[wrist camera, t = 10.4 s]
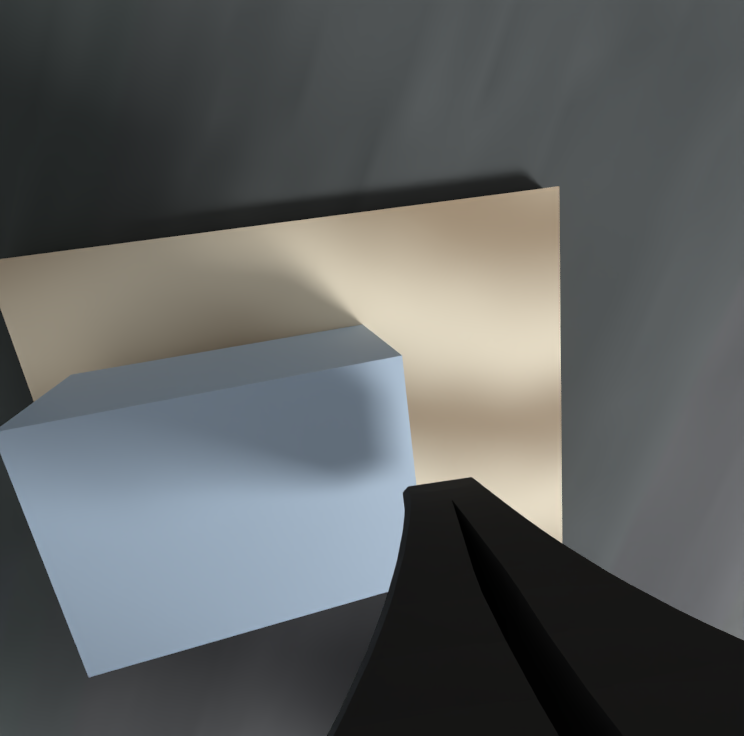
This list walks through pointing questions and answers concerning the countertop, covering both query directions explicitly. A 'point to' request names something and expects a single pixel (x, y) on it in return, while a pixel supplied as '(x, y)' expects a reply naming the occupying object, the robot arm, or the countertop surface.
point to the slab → (215, 490)
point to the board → (342, 319)
